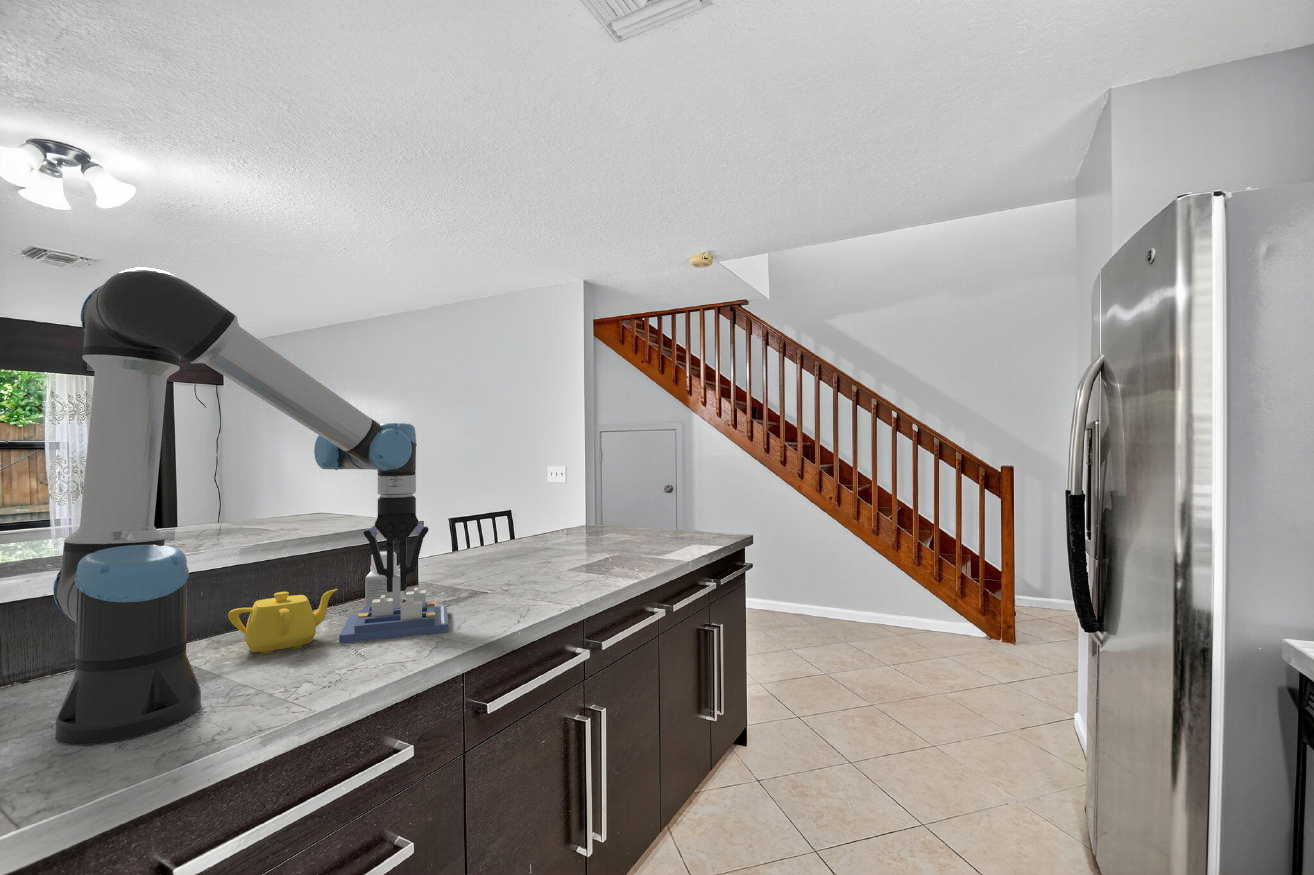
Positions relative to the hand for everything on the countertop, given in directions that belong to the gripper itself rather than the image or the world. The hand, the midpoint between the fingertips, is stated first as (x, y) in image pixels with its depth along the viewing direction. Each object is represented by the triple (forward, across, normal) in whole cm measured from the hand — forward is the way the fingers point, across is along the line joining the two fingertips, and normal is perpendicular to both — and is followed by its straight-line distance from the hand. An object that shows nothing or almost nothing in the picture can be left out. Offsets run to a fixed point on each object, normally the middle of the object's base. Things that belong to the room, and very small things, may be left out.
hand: (396, 606), depth 127 cm
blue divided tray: (+4, 0, 0) cm, 4 cm away
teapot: (+5, -19, -6) cm, 21 cm away
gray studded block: (+2, -3, 0) cm, 4 cm away
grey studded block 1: (+2, +4, +5) cm, 7 cm away
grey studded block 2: (+2, +3, -5) cm, 6 cm away
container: (+4, -4, +22) cm, 23 cm away
